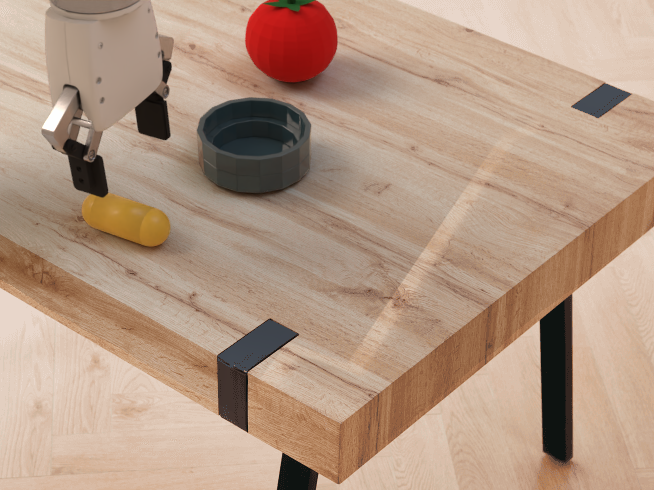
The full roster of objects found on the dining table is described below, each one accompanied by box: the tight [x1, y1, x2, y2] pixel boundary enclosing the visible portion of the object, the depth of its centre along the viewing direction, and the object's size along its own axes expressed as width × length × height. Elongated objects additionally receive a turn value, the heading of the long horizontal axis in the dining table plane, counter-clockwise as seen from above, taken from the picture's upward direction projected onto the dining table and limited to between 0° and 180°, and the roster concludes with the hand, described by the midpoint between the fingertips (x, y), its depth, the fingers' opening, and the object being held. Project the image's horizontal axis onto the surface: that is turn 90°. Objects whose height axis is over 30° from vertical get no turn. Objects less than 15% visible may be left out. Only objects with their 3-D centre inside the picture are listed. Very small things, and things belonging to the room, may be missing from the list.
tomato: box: [244, 0, 338, 83], centre depth 120 cm, size 10×10×10 cm
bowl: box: [196, 96, 312, 194], centre depth 109 cm, size 11×11×4 cm
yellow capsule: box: [81, 191, 172, 247], centre depth 100 cm, size 9×4×4 cm, turn 66°
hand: (124, 162), depth 95 cm, fingers open, 9 cm apart
